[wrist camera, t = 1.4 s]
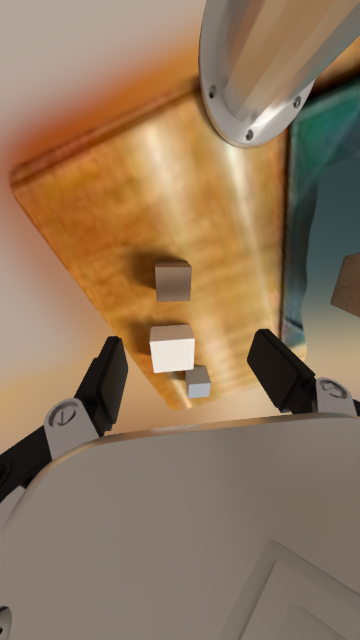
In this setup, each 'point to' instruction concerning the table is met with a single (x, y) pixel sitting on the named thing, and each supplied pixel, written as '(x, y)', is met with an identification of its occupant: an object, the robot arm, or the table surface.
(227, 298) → the table surface
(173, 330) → the off-white block
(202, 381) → the slate-grey cube
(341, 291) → the wooden block
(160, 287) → the walnut cube
